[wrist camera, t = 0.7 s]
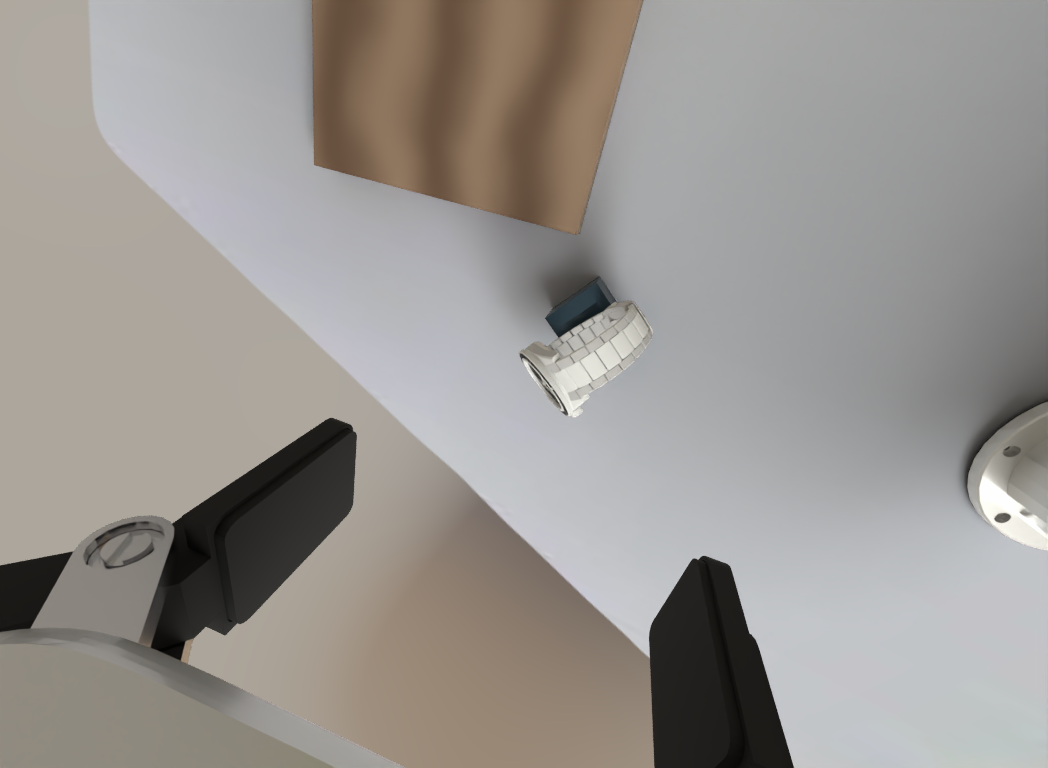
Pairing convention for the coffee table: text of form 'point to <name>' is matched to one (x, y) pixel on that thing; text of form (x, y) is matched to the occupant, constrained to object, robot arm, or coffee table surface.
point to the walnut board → (472, 98)
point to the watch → (586, 346)
